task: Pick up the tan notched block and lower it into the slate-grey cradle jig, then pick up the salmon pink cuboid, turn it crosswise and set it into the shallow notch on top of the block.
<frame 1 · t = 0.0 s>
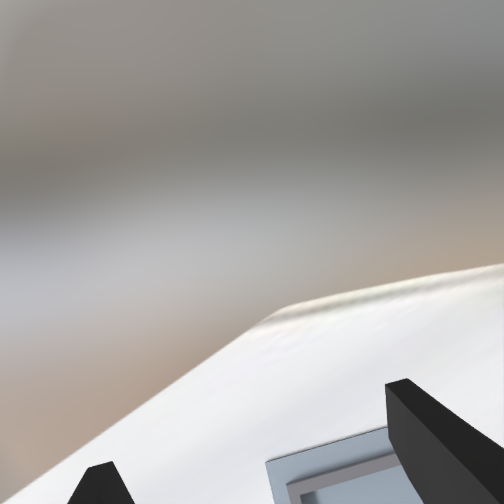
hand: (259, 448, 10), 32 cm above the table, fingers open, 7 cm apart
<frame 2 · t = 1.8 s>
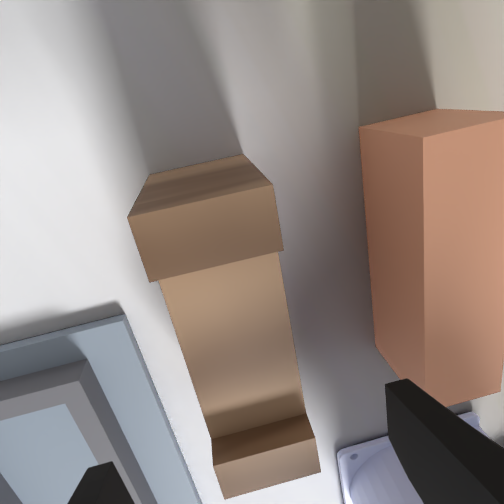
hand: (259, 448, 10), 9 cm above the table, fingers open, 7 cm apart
jig: (73, 472, 21), on the table
tan notched block: (226, 285, 18), on the table
salmon pink cuboid: (400, 241, 19), on the table
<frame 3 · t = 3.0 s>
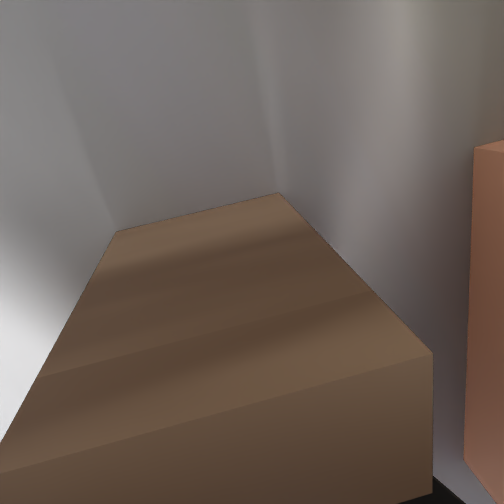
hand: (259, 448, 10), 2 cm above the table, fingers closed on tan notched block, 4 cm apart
tan notched block: (248, 395, 11), on the table, touching gripper
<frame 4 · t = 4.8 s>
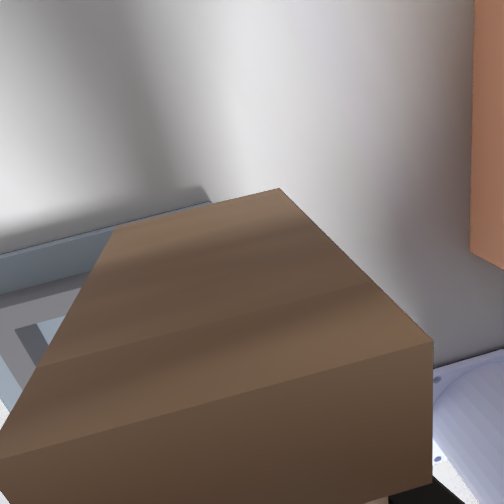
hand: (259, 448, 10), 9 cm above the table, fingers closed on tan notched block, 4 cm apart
jig: (143, 391, 19), on the table
tan notched block: (248, 391, 11), point 7 cm above the table, touching gripper
when the fingers open (4 cm above the table, at t = 6.6 s): tan notched block drops 1 cm, resting on jig.
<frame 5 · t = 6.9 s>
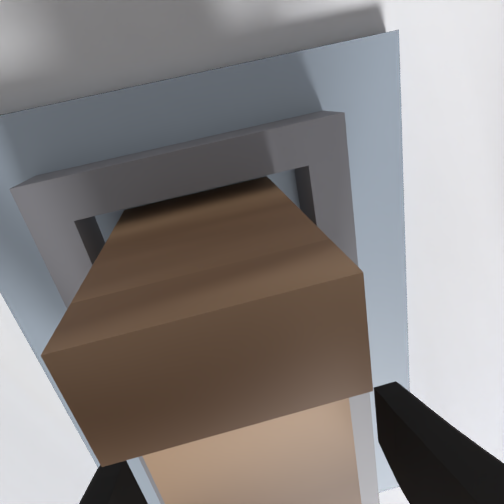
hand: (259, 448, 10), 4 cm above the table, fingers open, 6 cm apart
jig: (240, 353, 13), on the table
tan notched block: (241, 361, 13), point 1 cm above the table, touching jig
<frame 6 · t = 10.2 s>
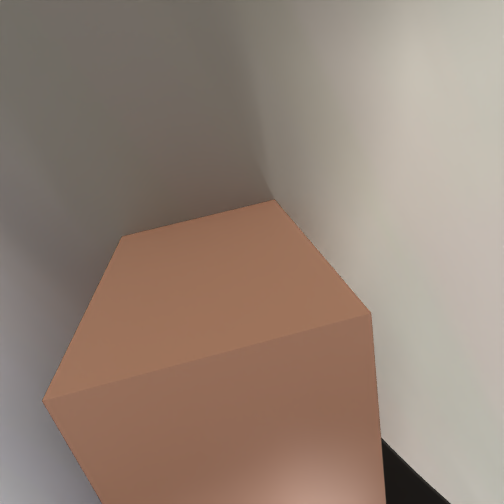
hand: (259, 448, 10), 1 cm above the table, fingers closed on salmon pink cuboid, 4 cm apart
salmon pink cuboid: (250, 405, 11), on the table, touching gripper
when the fingers open (8 cm above the table, at t = 14.1 s): salmon pink cuboid stays where it is, resting on tan notched block.
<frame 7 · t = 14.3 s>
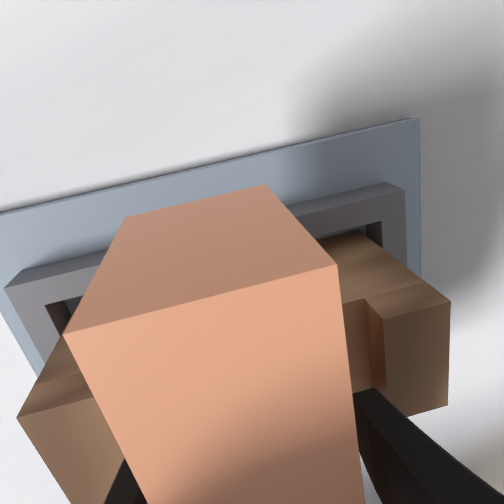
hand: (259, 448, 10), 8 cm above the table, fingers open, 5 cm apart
jig: (228, 296, 17), on the table
tan notched block: (232, 302, 16), point 1 cm above the table, touching jig, salmon pink cuboid
salmon pink cuboid: (244, 379, 12), point 6 cm above the table, touching tan notched block
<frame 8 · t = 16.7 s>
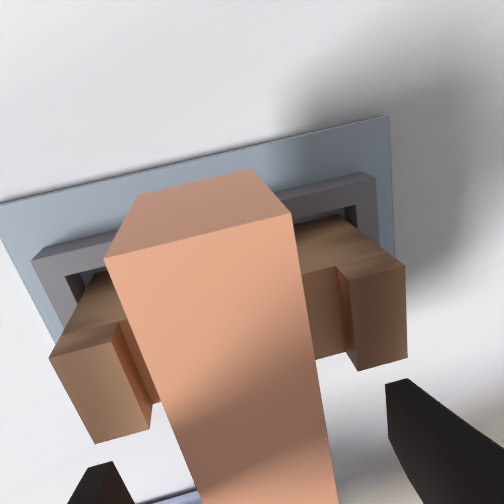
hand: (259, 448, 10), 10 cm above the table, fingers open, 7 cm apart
jig: (224, 274, 19), on the table
tan notched block: (227, 278, 19), point 1 cm above the table, touching jig, salmon pink cuboid
salmon pink cuboid: (235, 335, 14), point 6 cm above the table, touching tan notched block
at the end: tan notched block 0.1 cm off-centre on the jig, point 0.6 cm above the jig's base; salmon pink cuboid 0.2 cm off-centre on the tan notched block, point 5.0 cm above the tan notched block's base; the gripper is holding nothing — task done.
